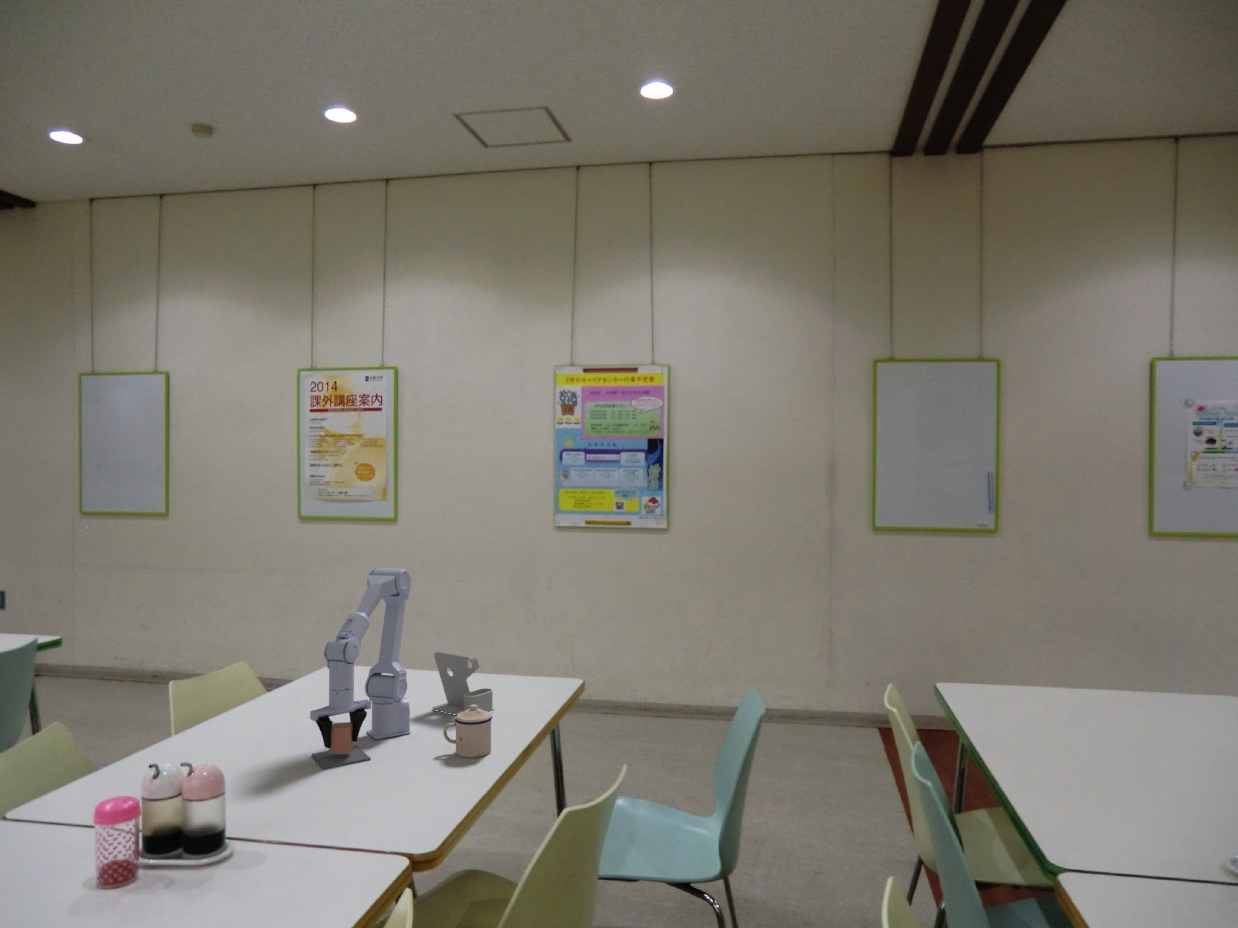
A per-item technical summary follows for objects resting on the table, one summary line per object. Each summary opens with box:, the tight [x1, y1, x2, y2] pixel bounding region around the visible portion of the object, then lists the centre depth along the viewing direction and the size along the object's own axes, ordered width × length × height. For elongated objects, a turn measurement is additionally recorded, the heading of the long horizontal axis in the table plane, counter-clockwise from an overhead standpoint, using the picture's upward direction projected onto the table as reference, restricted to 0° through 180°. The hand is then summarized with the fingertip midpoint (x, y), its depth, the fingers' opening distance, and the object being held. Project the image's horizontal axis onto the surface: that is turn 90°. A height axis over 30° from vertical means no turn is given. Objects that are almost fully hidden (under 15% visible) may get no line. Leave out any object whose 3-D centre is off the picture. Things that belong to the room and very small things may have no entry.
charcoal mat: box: [311, 745, 371, 770], centre depth 190 cm, size 11×11×1 cm
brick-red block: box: [328, 721, 354, 754], centre depth 190 cm, size 4×4×6 cm
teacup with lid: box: [442, 704, 493, 759], centre depth 195 cm, size 12×9×12 cm
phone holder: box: [432, 648, 495, 715], centre depth 230 cm, size 17×10×18 cm, turn 56°
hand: (341, 743), depth 191 cm, fingers closed on brick-red block, 6 cm apart
